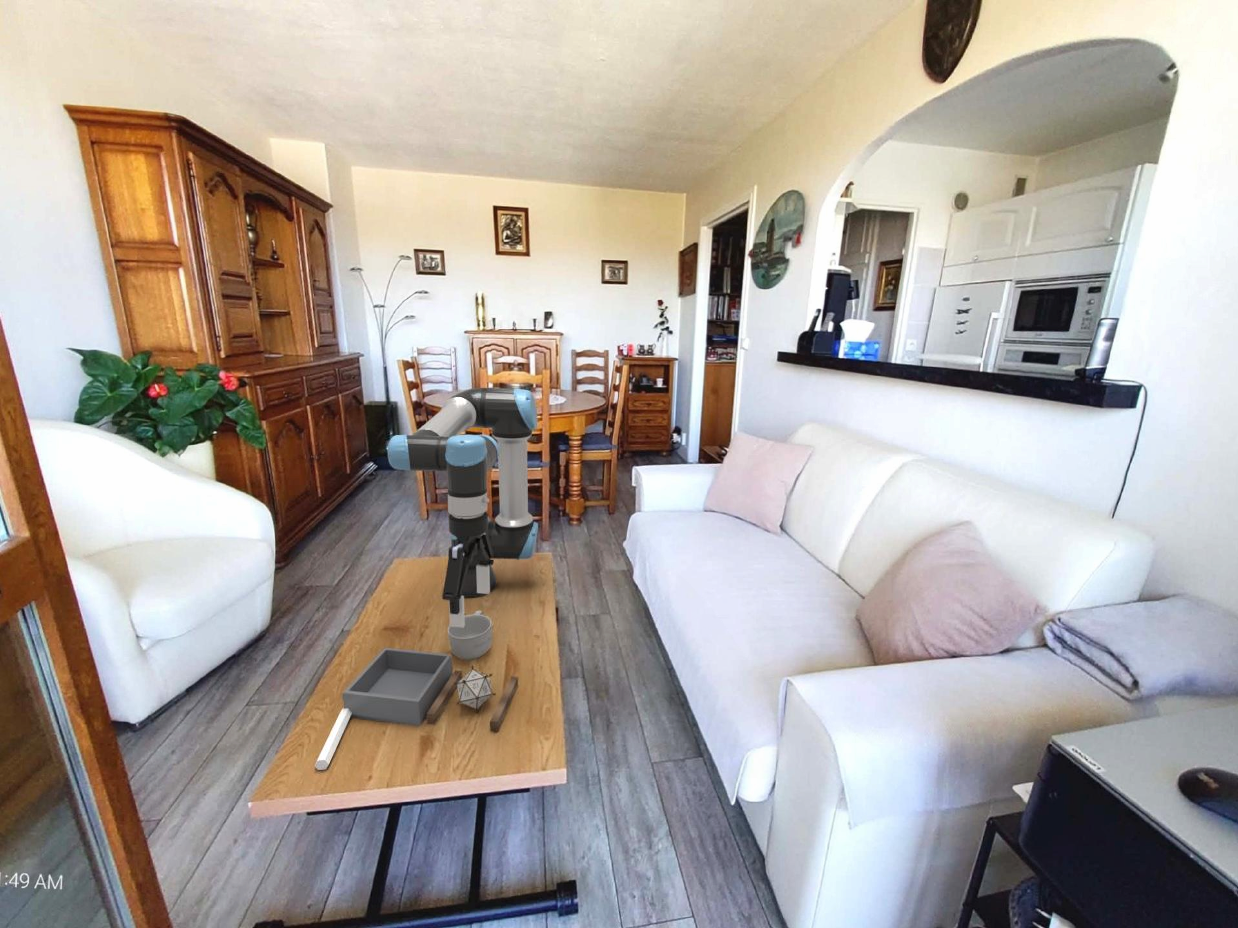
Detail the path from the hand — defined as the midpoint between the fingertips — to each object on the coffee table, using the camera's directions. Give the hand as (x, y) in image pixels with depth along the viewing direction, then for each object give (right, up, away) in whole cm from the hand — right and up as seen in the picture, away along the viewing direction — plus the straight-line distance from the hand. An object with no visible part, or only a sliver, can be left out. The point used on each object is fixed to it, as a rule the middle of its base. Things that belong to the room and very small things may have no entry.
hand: (471, 608), depth 103 cm
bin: (-18, -22, +7) cm, 29 cm away
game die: (-1, -23, +6) cm, 24 cm away
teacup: (-7, -18, +25) cm, 31 cm away
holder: (-1, -23, +6) cm, 24 cm away
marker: (-25, -24, -5) cm, 36 cm away
